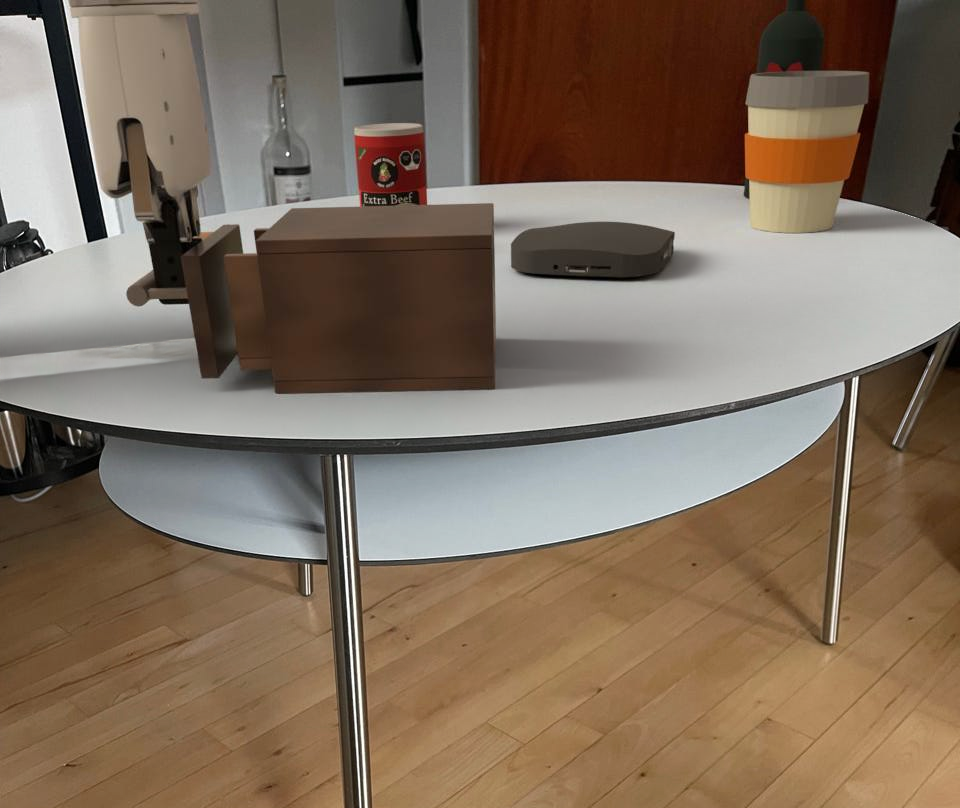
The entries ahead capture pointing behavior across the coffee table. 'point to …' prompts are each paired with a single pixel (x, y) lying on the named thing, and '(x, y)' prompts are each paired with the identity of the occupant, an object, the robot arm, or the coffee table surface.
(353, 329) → the cabinet
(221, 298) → the drawer
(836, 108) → the reusable coffee cup
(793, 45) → the wine bottle
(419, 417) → the coffee table surface
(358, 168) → the canned food
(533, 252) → the media streaming box
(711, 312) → the coffee table surface
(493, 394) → the coffee table surface
